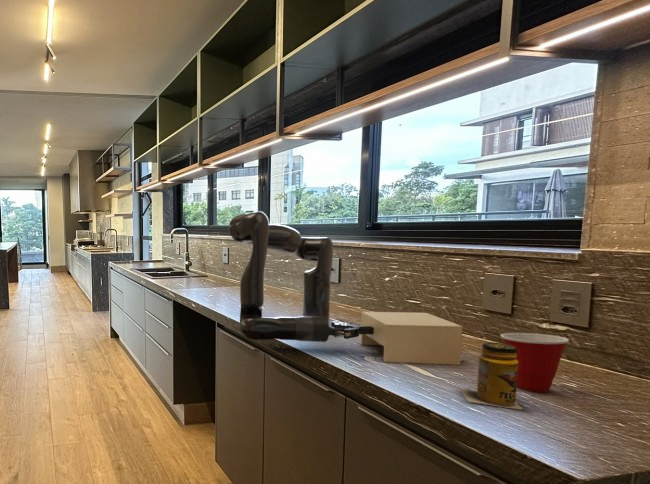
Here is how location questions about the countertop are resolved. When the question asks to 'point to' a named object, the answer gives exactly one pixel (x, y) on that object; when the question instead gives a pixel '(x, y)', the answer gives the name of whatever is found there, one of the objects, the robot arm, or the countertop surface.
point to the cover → (413, 337)
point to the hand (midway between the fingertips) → (372, 330)
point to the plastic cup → (536, 358)
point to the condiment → (496, 376)
